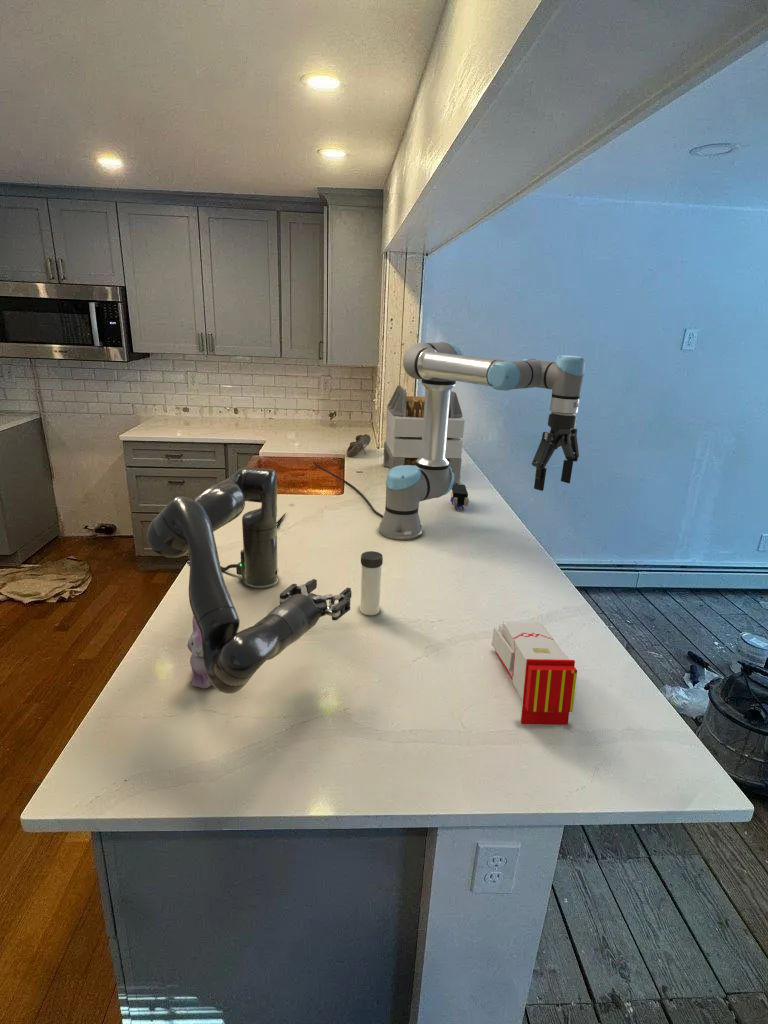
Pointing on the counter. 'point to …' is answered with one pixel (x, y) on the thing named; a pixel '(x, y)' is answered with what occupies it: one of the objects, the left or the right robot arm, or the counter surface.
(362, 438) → the fossil
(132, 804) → the counter surface
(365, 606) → the jar
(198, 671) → the figurine
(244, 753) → the counter surface
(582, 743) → the counter surface
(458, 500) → the figurine character
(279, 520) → the feather
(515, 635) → the toy
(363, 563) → the lid
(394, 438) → the white wooden crate
